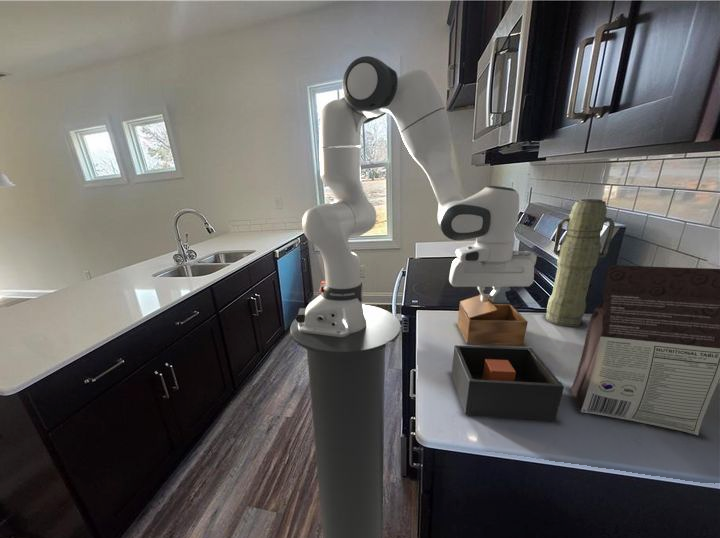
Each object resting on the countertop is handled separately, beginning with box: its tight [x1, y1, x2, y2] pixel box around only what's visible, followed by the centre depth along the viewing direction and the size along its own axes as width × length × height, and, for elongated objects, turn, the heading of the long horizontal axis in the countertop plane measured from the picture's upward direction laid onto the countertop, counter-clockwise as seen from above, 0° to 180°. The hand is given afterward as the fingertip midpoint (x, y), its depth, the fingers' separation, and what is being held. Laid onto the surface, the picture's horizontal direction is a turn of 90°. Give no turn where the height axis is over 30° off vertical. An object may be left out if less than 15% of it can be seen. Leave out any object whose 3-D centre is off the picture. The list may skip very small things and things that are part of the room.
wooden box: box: [457, 303, 529, 347], centre depth 89 cm, size 14×12×7 cm
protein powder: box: [569, 264, 720, 436], centre depth 55 cm, size 16×9×28 cm, turn 66°
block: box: [482, 359, 516, 381], centre depth 65 cm, size 4×4×6 cm
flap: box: [459, 294, 498, 319], centre depth 88 cm, size 7×12×1 cm, turn 169°
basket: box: [451, 344, 565, 422], centre depth 65 cm, size 16×14×8 cm
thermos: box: [545, 198, 616, 327], centre depth 90 cm, size 9×12×35 cm
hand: (486, 301), depth 87 cm, fingers closed
